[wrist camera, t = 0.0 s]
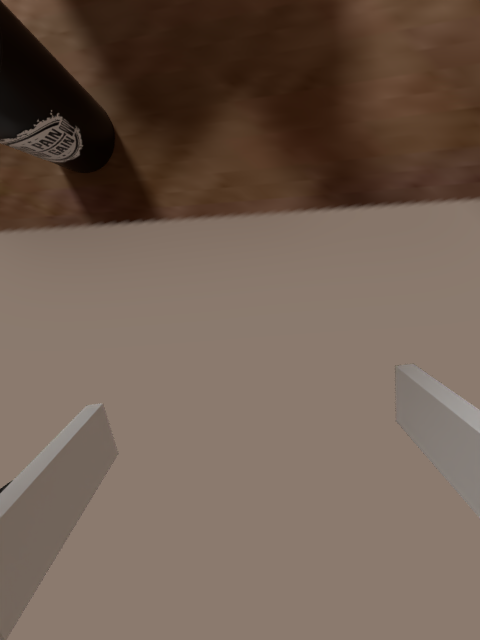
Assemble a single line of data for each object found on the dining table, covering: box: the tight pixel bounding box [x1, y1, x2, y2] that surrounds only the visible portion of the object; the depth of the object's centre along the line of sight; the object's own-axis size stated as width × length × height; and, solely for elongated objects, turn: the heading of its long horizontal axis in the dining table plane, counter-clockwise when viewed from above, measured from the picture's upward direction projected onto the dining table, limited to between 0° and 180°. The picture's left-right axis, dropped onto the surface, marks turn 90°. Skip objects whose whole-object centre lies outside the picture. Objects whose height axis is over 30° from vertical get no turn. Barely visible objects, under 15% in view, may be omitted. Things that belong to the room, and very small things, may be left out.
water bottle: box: [0, 0, 115, 173], centre depth 24 cm, size 10×10×23 cm
